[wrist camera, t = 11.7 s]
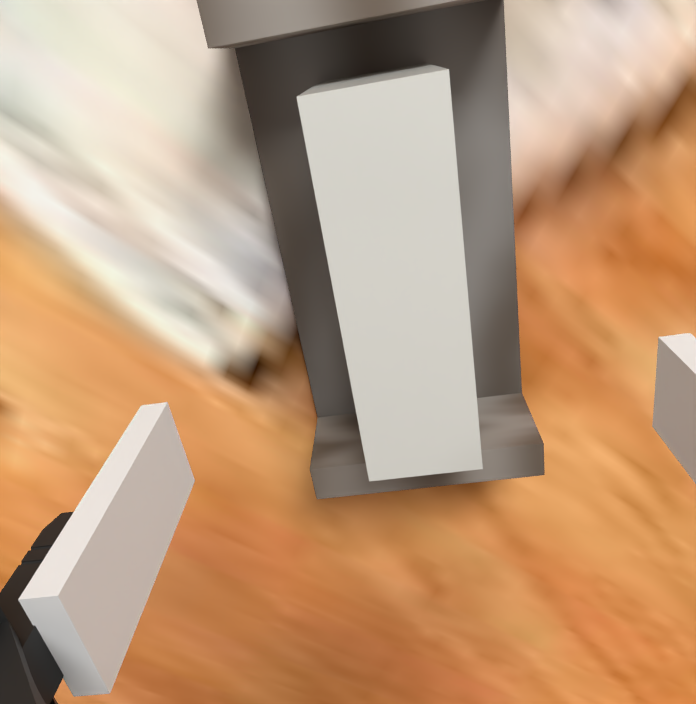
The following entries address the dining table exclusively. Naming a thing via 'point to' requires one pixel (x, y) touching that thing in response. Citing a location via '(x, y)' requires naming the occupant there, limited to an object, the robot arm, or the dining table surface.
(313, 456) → the cradle rack
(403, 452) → the light grey block
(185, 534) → the dining table surface
